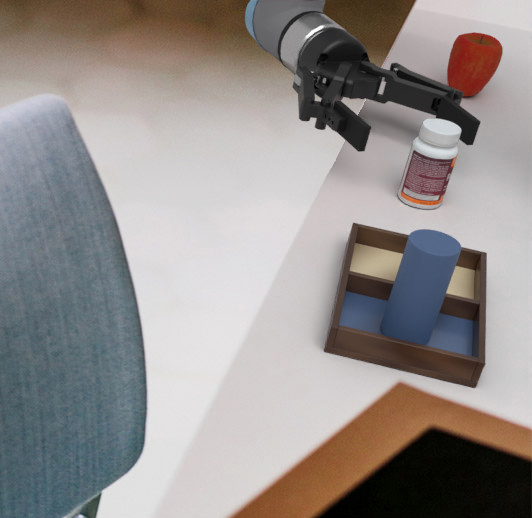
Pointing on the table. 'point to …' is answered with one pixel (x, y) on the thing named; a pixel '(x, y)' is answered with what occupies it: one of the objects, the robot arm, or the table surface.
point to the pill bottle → (430, 164)
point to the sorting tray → (375, 302)
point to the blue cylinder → (420, 285)
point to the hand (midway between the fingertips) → (420, 136)
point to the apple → (473, 62)
